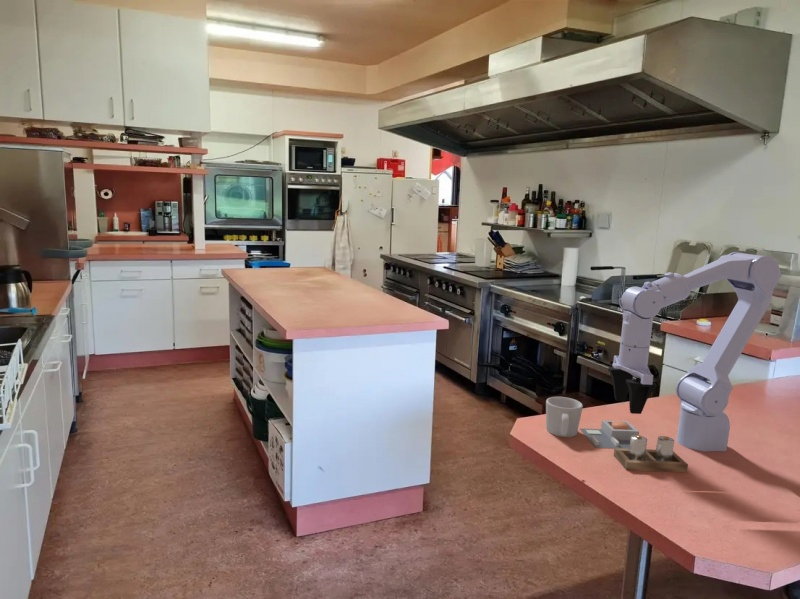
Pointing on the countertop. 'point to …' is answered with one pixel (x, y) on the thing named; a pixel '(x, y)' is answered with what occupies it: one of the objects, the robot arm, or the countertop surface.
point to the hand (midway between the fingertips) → (627, 406)
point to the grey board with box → (610, 436)
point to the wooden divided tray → (650, 462)
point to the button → (620, 425)
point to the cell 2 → (664, 449)
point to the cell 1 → (637, 447)
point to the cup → (563, 416)
